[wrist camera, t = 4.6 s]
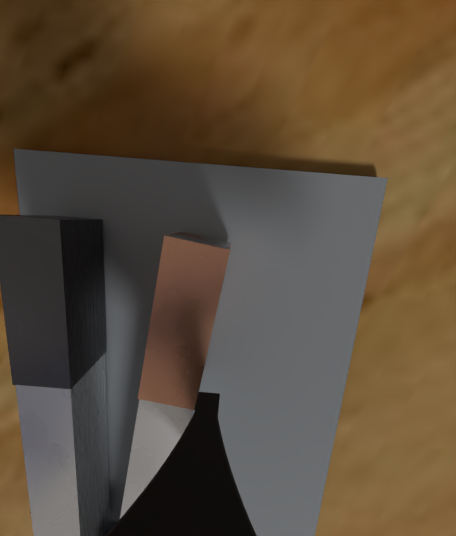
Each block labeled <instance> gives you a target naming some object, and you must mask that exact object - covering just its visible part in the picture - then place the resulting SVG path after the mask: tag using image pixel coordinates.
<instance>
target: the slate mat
mask: <svg viewBox="0 0 456 536" xmlns="http://www.w3.org/2000/svg"><path fill="white" fill-rule="evenodd" d="M13 150H14V160H15V170H16V180H17V190H18V200H19V210H20V215H53V216H66V217H78V218H91V219H103V245H104V278H105V312H106V345H107V352H106V353H105V366H106V398H107V430H108V461H109V493H110V519H109V521H108V524H107V526H106V528H109V527H113V526H114V525H115V524H116V523H117V522H118V521H119V520H120V514H121V508H122V502H123V496H124V490H125V484H126V478H127V472H128V466H129V459H130V453H131V447H132V441H133V435H134V429H135V423H136V417H137V411H138V405H139V399H138V394H139V388H140V381H141V375H142V369H143V363H144V357H145V351H146V344H147V338H148V332H149V326H150V320H151V314H152V307H153V301H154V295H155V289H156V283H157V277H158V270H159V264H160V258H161V252H162V246H163V240H164V235H168V234H172V233H176V232H180V231H183V232H187V233H192V234H196V235H201V236H205V237H210V238H214V239H219V240H223V241H228V242H231V247H230V254H229V258H228V263H227V267H226V272H225V276H224V281H223V285H222V290H221V294H220V299H219V303H218V308H217V312H216V317H215V321H214V326H213V330H212V335H211V339H210V344H209V348H208V353H207V357H206V362H205V366H204V371H203V375H202V380H201V384H200V389H199V392H208V393H219V394H220V399H219V411H218V420H219V426H220V430H221V435H222V439H223V443H224V447H225V451H226V454H227V458H228V461H229V464H230V467H231V471H232V474H233V477H234V480H235V483H236V485H237V488H238V491H239V494H240V496H241V499H242V502H243V504H244V507H245V509H246V512H247V514H248V517H249V519H250V522H251V524H252V526H253V529H254V531H255V533H256V535H257V536H315V531H316V526H317V522H318V517H319V512H320V507H321V502H322V497H323V492H324V487H325V482H326V477H327V473H328V468H329V463H330V458H331V453H332V448H333V443H334V438H335V433H336V428H337V424H338V419H339V414H340V409H341V404H342V399H343V394H344V389H345V384H346V380H347V375H348V370H349V365H350V360H351V355H352V350H353V345H354V340H355V335H356V331H357V326H358V321H359V316H360V311H361V306H362V301H363V296H364V291H365V286H366V282H367V277H368V272H369V267H370V262H371V257H372V252H373V247H374V242H375V237H376V233H377V228H378V223H379V218H380V213H381V208H382V203H383V198H384V193H385V189H386V184H387V179H388V178H379V177H367V176H354V175H341V174H329V173H316V172H303V171H291V170H278V169H265V168H253V167H240V166H227V165H215V164H202V163H189V162H177V161H164V160H151V159H139V158H126V157H113V156H101V155H88V154H75V153H63V152H50V151H37V150H24V149H13ZM194 412H195V410H193V414H194ZM193 414H192V416H193Z"/></svg>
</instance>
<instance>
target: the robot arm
mask: <svg viewBox="0 0 456 536" xmlns="http://www.w3.org/2000/svg"><path fill="white" fill-rule="evenodd" d="M219 399H220V394H219V393H208V392H199V393H198V398H197V401H196V404H195V412H194V414H193V416H192V418H191V420H190V422H189V424H188V425H187V427H186V429H185V431H184V432H183V434H182V436H181V437H180V439H179V441H178V442H177V444H176V445H175V447H174V448H173V450H172V451H171V453H170V454H169V456H168V458H167V459H166V461H165V462H164V463H163V465H162V466H161V468H160V469H159V470H158V472H157V473H156V475H155V476H154V477H153V479H152V480H151V481H150V483H149V484H148V485H147V487H146V488H145V489H144V490H143V492H142V493H141V494H140V495H139V497H138V498H137V499H136V500H135V502H134V503H133V504H132V505H131V506H130V508H129V509H128V510H127V511H126V513H125V514H124V515H123V516H122V517H121V518H120V520H119V521H118V522H117V523H116V524H115V525H114V526H113V528H112V529H111V530H110V531H109V532H108V533H107V534H106V535H105V536H257V535H256V533H255V531H254V529H253V526H252V524H251V522H250V519H249V517H248V514H247V512H246V509H245V507H244V504H243V502H242V499H241V496H240V494H239V491H238V488H237V485H236V483H235V480H234V477H233V474H232V471H231V467H230V464H229V461H228V458H227V454H226V451H225V447H224V443H223V439H222V435H221V430H220V426H219V420H218V411H219Z"/></svg>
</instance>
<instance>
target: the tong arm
mask: <svg viewBox="0 0 456 536" xmlns="http://www.w3.org/2000/svg"><path fill="white" fill-rule="evenodd" d="M230 247H231V242H228V241H223V240H219V239H214V238H210V237H205V236H201V235H196V234H192V233H187V232H183V231H180V232H176V233H172V234H168V235H164V240H163V246H162V252H161V258H160V264H159V270H158V277H157V283H156V289H155V295H154V301H153V307H152V314H151V320H150V326H149V332H148V338H147V344H146V351H145V357H144V363H143V369H142V375H141V381H140V388H139V394H138V399H139V405H138V411H137V417H136V423H135V429H134V435H133V441H132V447H131V453H130V459H129V466H128V472H127V478H126V484H125V490H124V496H123V502H122V508H121V514H120V518H121V517H122V516H123V515H124V514H125V513H126V511H127V510H128V509H129V508H130V506H131V505H132V504H133V503H134V502H135V500H136V499H137V498H138V497H139V495H140V494H141V493H142V492H143V490H144V489H145V488H146V487H147V485H148V484H149V483H150V481H151V480H152V479H153V477H154V476H155V475H156V473H157V472H158V470H159V469H160V468H161V466H162V465H163V463H164V462H165V461H166V459H167V458H168V456H169V454H170V453H171V451H172V450H173V448H174V447H175V445H176V444H177V442H178V441H179V439H180V437H181V436H182V434H183V432H184V431H185V429H186V427H187V425H188V424H189V422H190V420H191V418H192V414H193V410H195V404H196V401H197V398H198V393H199V389H200V384H201V380H202V375H203V371H204V366H205V362H206V357H207V353H208V348H209V344H210V339H211V335H212V330H213V326H214V321H215V317H216V312H217V308H218V303H219V299H220V294H221V290H222V285H223V281H224V276H225V272H226V267H227V263H228V258H229V254H230ZM112 528H113V527H109V528H106V529H105V531H104V534H103V536H105V535H106V534H107V533H108V532H109V531H110V530H111V529H112Z"/></svg>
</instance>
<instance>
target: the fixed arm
mask: <svg viewBox="0 0 456 536" xmlns="http://www.w3.org/2000/svg"><path fill="white" fill-rule="evenodd" d="M0 285H1V293H2V301H3V309H4V317H5V326H6V334H7V342H8V350H9V358H10V366H11V374H12V382H13V385H16V393H17V401H18V409H19V418H20V426H21V434H22V443H23V451H24V459H25V467H26V476H27V484H28V492H29V501H30V509H31V517H32V525H33V534H34V536H103V534H104V531H105V529H106V526H107V524H108V521H109V519H110V493H109V461H108V430H107V398H106V366H105V353H106V352H107V345H106V312H105V278H104V245H103V219H91V218H78V217H66V216H53V215H0Z"/></svg>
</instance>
